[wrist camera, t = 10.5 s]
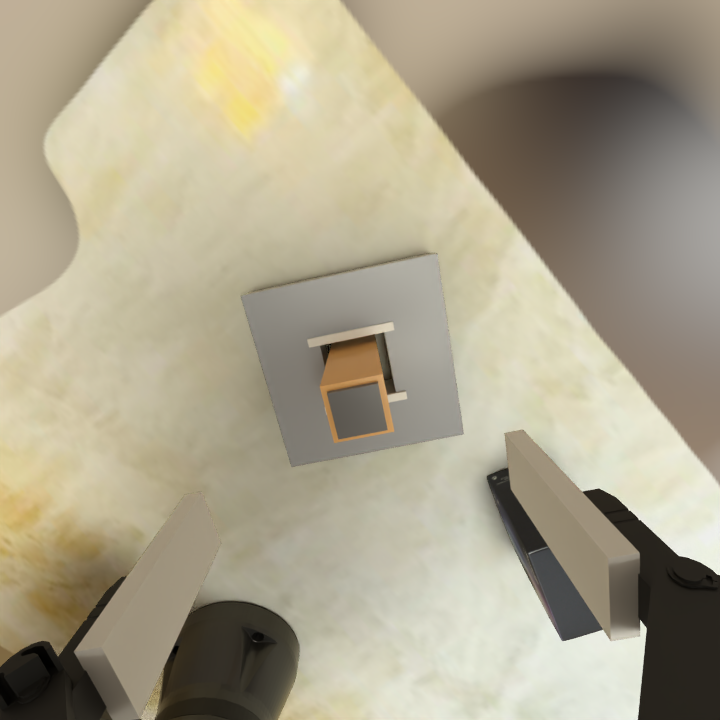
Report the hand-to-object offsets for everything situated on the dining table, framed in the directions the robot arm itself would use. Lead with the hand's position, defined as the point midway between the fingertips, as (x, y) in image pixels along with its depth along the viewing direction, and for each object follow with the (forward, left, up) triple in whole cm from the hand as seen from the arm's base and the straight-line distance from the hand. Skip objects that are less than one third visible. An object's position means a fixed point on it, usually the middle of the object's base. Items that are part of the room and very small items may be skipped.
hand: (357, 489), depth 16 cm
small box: (+14, -20, -20) cm, 32 cm away
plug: (0, 0, -20) cm, 20 cm away
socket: (0, 0, -20) cm, 20 cm away
